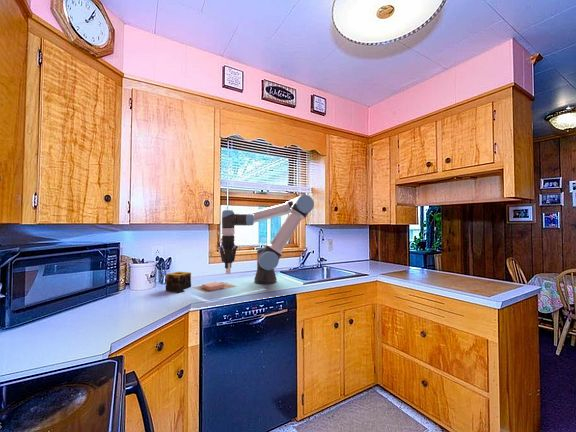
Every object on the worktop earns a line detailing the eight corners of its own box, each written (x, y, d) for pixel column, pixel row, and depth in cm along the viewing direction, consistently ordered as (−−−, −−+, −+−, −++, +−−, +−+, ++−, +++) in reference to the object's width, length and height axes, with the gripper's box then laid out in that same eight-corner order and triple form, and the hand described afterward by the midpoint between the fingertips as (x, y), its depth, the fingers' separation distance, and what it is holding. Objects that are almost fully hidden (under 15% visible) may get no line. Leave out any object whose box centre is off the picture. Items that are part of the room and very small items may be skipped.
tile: (215, 281, 161) (202, 284, 155) (224, 284, 155) (210, 286, 148) (215, 285, 161) (202, 288, 155) (224, 288, 155) (210, 290, 148)
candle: (178, 293, 147) (178, 275, 147) (164, 291, 151) (165, 274, 151) (191, 289, 157) (191, 272, 157) (178, 287, 160) (178, 271, 161)
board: (222, 283, 171) (222, 282, 171) (237, 288, 160) (237, 286, 160) (192, 289, 156) (192, 287, 156) (206, 294, 145) (206, 292, 145)
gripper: (233, 234, 170) (233, 271, 169) (215, 235, 161) (215, 274, 160) (240, 235, 165) (240, 272, 164) (222, 235, 155) (222, 276, 155)
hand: (228, 273), depth 162 cm, fingers closed
